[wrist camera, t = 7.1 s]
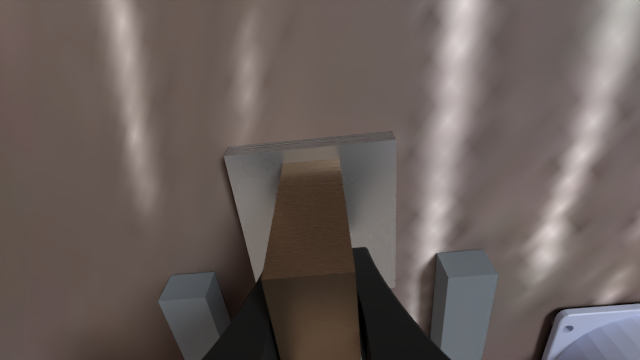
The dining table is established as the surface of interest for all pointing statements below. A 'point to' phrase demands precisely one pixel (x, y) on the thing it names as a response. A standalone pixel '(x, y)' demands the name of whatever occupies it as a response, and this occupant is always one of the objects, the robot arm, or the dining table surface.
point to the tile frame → (447, 313)
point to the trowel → (316, 233)
